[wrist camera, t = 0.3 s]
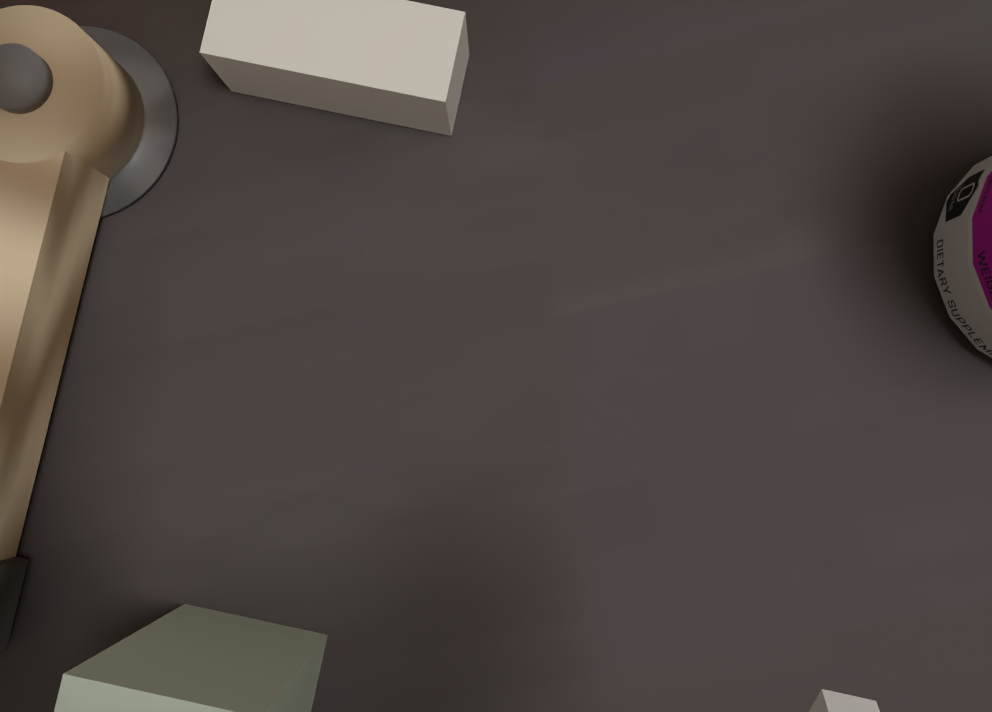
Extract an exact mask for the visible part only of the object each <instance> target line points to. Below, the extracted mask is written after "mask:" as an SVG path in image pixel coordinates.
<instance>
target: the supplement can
mask: <svg viewBox="0 0 992 712" xmlns="http://www.w3.org/2000/svg"><path fill="white" fill-rule="evenodd" d="M933 236H934V278H935V280H936V283H937V286H938V288H939V291H940V294H941V296H942V299H943V301H944V304H945V307H946V309H947V312H948V315H949V317H950V318H951V319H952V320H953V321H954V323H955V324H956V325H957V326H958V327H959V329H960V330H961V331H962V332H963V333H964V334H965V336H966V337H967V338H968V339H969V340H970V342H971V343H972V344H973V345H974V346H975V347H976V349H977V350H979V351H981V352H982V353H984V354H986V355H987V356H989V357H991V358H992V156H990V157H988V158H987V159H985V160H983V161H981V162H979V163H977V164H976V165H974V166H973V167H972V168H971V169H970V171H969V172H968V173H967V174H966V175H965V176H964V178H963V179H962V180H961V181H960V182H959V183H958V184H957V186H956V187H955V188H954V189H953V190H952V191H951V193H950V194H949V195H948V196H947V199H946V201H945V204H944V207H943V210H942V213H941V215H940V218H939V221H938V224H937V226H936V229H935V232H934V235H933Z"/></svg>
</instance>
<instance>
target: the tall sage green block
mask: <svg viewBox="0 0 992 712" xmlns="http://www.w3.org/2000/svg"><path fill="white" fill-rule="evenodd" d="M327 636H328V635H326V634H321V633H317V632H312V631H308V630H303V629H298V628H294V627H289V626H284V625H280V624H275V623H271V622H266V621H261V620H257V619H252V618H248V617H243V616H238V615H234V614H229V613H225V612H220V611H215V610H211V609H206V608H202V607H197V606H192V605H188V604H184V605H182V606H180V607H178V608H177V609H175V610H173V611H171V612H170V613H168V614H166V615H164V616H163V617H161V618H159V619H157V620H156V621H154V622H152V623H151V624H149V625H147V626H145V627H144V628H142V629H140V630H138V631H137V632H135V633H133V634H131V635H130V636H128V637H126V638H125V639H123V640H121V641H119V642H118V643H116V644H114V645H112V646H111V647H109V648H107V649H105V650H104V651H102V652H100V653H98V654H97V655H95V656H93V657H92V658H90V659H88V660H86V661H85V662H83V663H81V664H79V665H78V666H76V667H74V668H72V669H71V670H69V671H67V672H66V673H64V674H63V676H62V681H61V685H60V689H59V693H58V697H57V701H56V705H55V710H54V712H311V709H312V705H313V700H314V696H315V691H316V687H317V682H318V677H319V673H320V668H321V664H322V659H323V655H324V650H325V646H326V641H327Z"/></svg>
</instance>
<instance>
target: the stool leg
mask: <svg viewBox="0 0 992 712" xmlns="http://www.w3.org/2000/svg"><path fill="white" fill-rule="evenodd" d="M144 118H145V114H144V105H143V100H142V97H141V94H140V91H139V89H138V87H137V85H136V83H135V81H134V80H133V79H132V77H131V76H130V74H129V73H128V72H127V71H126V70H125V69H124V68H123V67H122V66H121V65H120V64H119V63H118V62H116V61H115V60H114V59H113V58H112V57H111V56H110V55H109V54H108V53H107V52H106V51H105V50H104V49H103V48H101V47H100V46H99V45H98V44H97V43H96V42H95V41H94V40H93V39H92V38H91V37H90V36H89V35H87V34H86V33H85V32H84V31H83V30H82V29H81V28H80V27H79V26H78V25H77V24H75V23H74V22H73V21H72V20H70V19H69V18H67V17H66V16H64V15H62V14H60V13H58V12H56V11H53V10H51V9H47V8H44V7H39V6H31V5H19V6H11V7H6V8H2V9H0V652H1V651H3V650H5V649H7V645H8V641H9V637H10V633H11V629H12V625H13V621H14V617H15V613H16V609H17V605H18V601H19V597H20V593H21V589H22V584H23V580H24V576H25V572H26V568H27V564H28V560H29V559H25V558H21V557H16V554H17V550H18V545H19V541H20V537H21V533H22V529H23V525H24V521H25V517H26V513H27V509H28V505H29V501H30V497H31V493H32V489H33V485H34V481H35V477H36V473H37V469H38V465H39V461H40V457H41V453H42V449H43V445H44V441H45V437H46V433H47V429H48V425H49V421H50V416H51V412H52V408H53V404H54V400H55V396H56V392H57V388H58V384H59V380H60V376H61V372H62V368H63V364H64V360H65V356H66V352H67V348H68V344H69V340H70V336H71V332H72V328H73V324H74V320H75V316H76V312H77V308H78V304H79V300H80V296H81V292H82V287H83V283H84V279H85V275H86V271H87V267H88V263H89V259H90V255H91V251H92V247H93V243H94V239H95V235H96V231H97V227H98V223H99V219H100V215H101V211H102V207H103V203H104V199H105V195H106V191H107V187H108V183H109V179H110V178H111V177H112V176H114V175H115V174H116V173H118V172H119V171H120V170H121V169H122V168H123V167H124V166H125V165H126V164H127V163H128V161H129V160H130V159H131V158H132V156H133V154H134V153H135V151H136V149H137V147H138V145H139V143H140V140H141V137H142V134H143V128H144Z"/></svg>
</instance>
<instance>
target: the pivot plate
mask: <svg viewBox="0 0 992 712" xmlns="http://www.w3.org/2000/svg"><path fill="white" fill-rule="evenodd" d="M79 27H80V28H81V29H82V30H83V31H84V32H85V33H86V34H87V35H89V36H90V37H91V38H92V39H93V40H94V41H95V42H96V43H97V44H98V45H99V46H100V47H101V48H103V49H104V50H105V51H106V52H107V53H108V54H109V55H110V56H111V57H112V58H113V59H114V60H115V61H116V62H118V63H119V64H120V65H121V66H122V67H123V68H124V69H125V70H126V71H127V72H128V73H129V74H130V76H131V77H132V79H133V80H134V81H135V83H136V85H137V87H138V89H139V91H140V94H141V97H142V100H143V105H144V114H145V118H144V128H143V134H142V137H141V140H140V143H139V145H138V147H137V149H136V151H135V153H134V154H133V156H132V158H131V159H130V160H129V161H128V163H127V164H126V165H125V166H124V167H123V168H122V169H121V170H120V171H119V172H118V173H116V174H115V175H114V176H112V177H111V178H110V179H109V183H108V187H107V191H106V195H105V199H104V203H103V207H102V211H101V215H100V218H103V217H107V216H110V215H112V214H115V213H118V212H120V211H122V210H124V209H125V208H127V207H129V206H131V205H132V204H134V203H135V202H137V201H138V200H139V199H141V198H142V197H143V196H144V195H145V194H146V193H147V192H148V191H150V190H151V189H152V187H153V186H154V185H155V184H156V183H157V181H158V180H159V179H160V178H161V176H162V174H163V173H164V171H165V170H166V168H167V166H168V164H169V162H170V160H171V157H172V155H173V152H174V148H175V145H176V141H177V135H178V123H179V117H178V106H177V102H176V98H175V94H174V91H173V88H172V86H171V83H170V81H169V79H168V77H167V76H166V74H165V72H164V71H163V69H162V68H161V67H160V65H159V64H158V62H157V61H156V60H155V59H154V58H153V57H152V56H151V55H150V54H149V53H148V52H147V51H146V50H145V49H144V48H142V47H141V46H140V45H138V44H137V43H136V42H134V41H132V40H131V39H129V38H127V37H125V36H123V35H121V34H118V33H116V32H114V31H110V30H106V29H103V28H96V27H89V26H79Z"/></svg>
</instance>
